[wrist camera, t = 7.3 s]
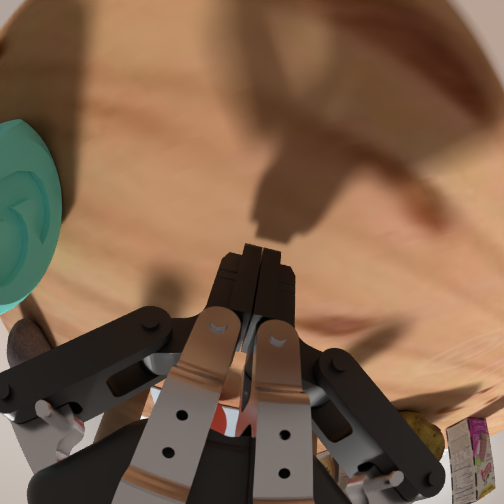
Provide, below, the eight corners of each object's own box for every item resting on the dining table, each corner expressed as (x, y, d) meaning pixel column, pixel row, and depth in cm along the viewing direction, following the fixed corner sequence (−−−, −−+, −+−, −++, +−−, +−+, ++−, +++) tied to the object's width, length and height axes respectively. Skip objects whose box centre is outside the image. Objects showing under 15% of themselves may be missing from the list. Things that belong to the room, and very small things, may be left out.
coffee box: (337, 457, 38) (333, 531, 26) (308, 455, 38) (300, 533, 25) (369, 446, 33) (368, 531, 20) (338, 445, 32) (333, 537, 19)
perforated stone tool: (16, 295, 20) (-18, 344, 15) (51, 320, 21) (19, 375, 15) (39, 354, 29) (20, 390, 23) (67, 372, 30) (49, 410, 24)
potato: (418, 392, 20) (427, 465, 14) (444, 412, 25) (451, 464, 18) (348, 418, 25) (348, 484, 18) (391, 433, 29) (394, 482, 22)
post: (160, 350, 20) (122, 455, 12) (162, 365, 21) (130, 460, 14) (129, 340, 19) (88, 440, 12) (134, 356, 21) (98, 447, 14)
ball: (234, 405, 20) (214, 467, 17) (235, 400, 25) (219, 450, 22) (164, 381, 20) (145, 442, 17) (179, 381, 25) (163, 431, 23)
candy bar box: (487, 416, 29) (496, 488, 16) (466, 428, 32) (473, 497, 19) (468, 416, 27) (477, 502, 14) (444, 428, 30) (450, 511, 16)
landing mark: (283, 415, 25) (282, 417, 25) (254, 442, 33) (254, 443, 33) (150, 385, 24) (149, 386, 24) (160, 420, 33) (160, 421, 33)
